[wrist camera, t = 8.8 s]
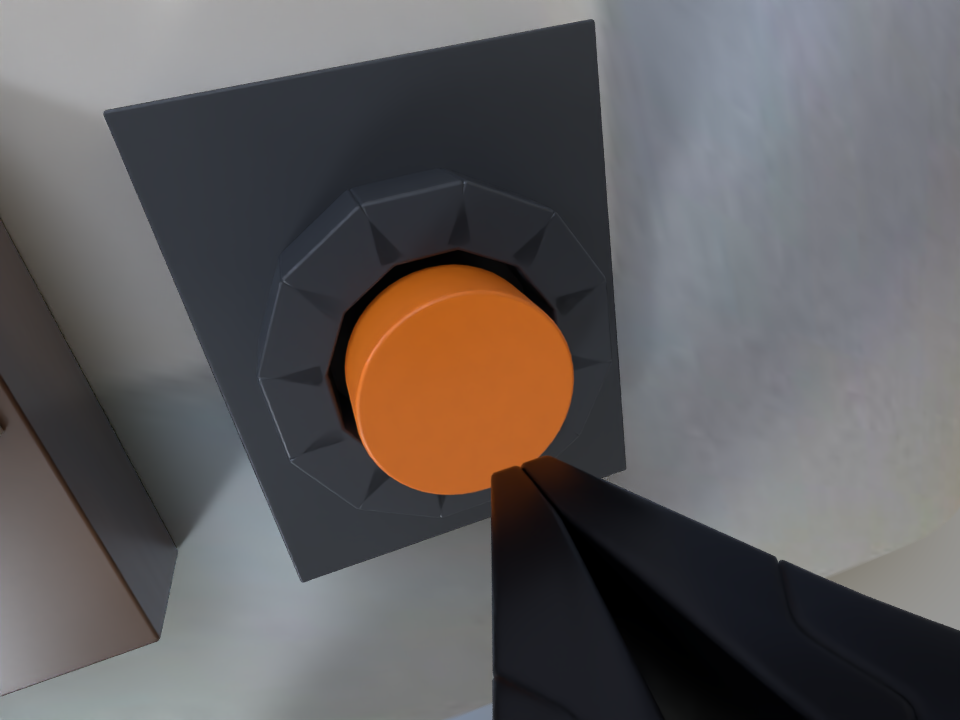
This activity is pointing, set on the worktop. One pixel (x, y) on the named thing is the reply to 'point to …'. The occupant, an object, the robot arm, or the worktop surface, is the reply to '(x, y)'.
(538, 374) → the button
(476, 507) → the housing
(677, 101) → the worktop surface
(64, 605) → the panel
